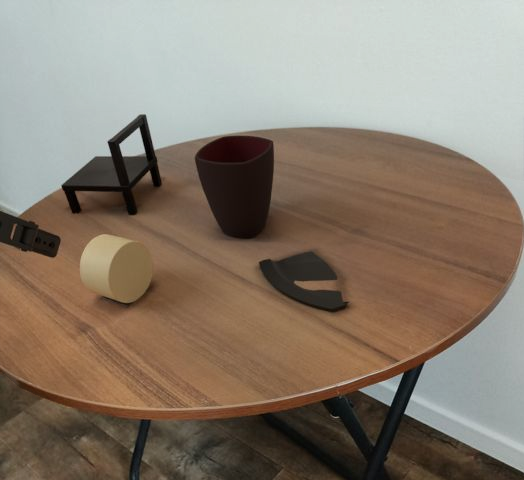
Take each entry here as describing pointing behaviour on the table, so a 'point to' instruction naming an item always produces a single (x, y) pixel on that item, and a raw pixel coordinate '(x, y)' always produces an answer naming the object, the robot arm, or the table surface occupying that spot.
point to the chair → (116, 169)
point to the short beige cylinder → (116, 268)
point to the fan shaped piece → (303, 270)
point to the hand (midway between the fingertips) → (27, 239)
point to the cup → (238, 182)
